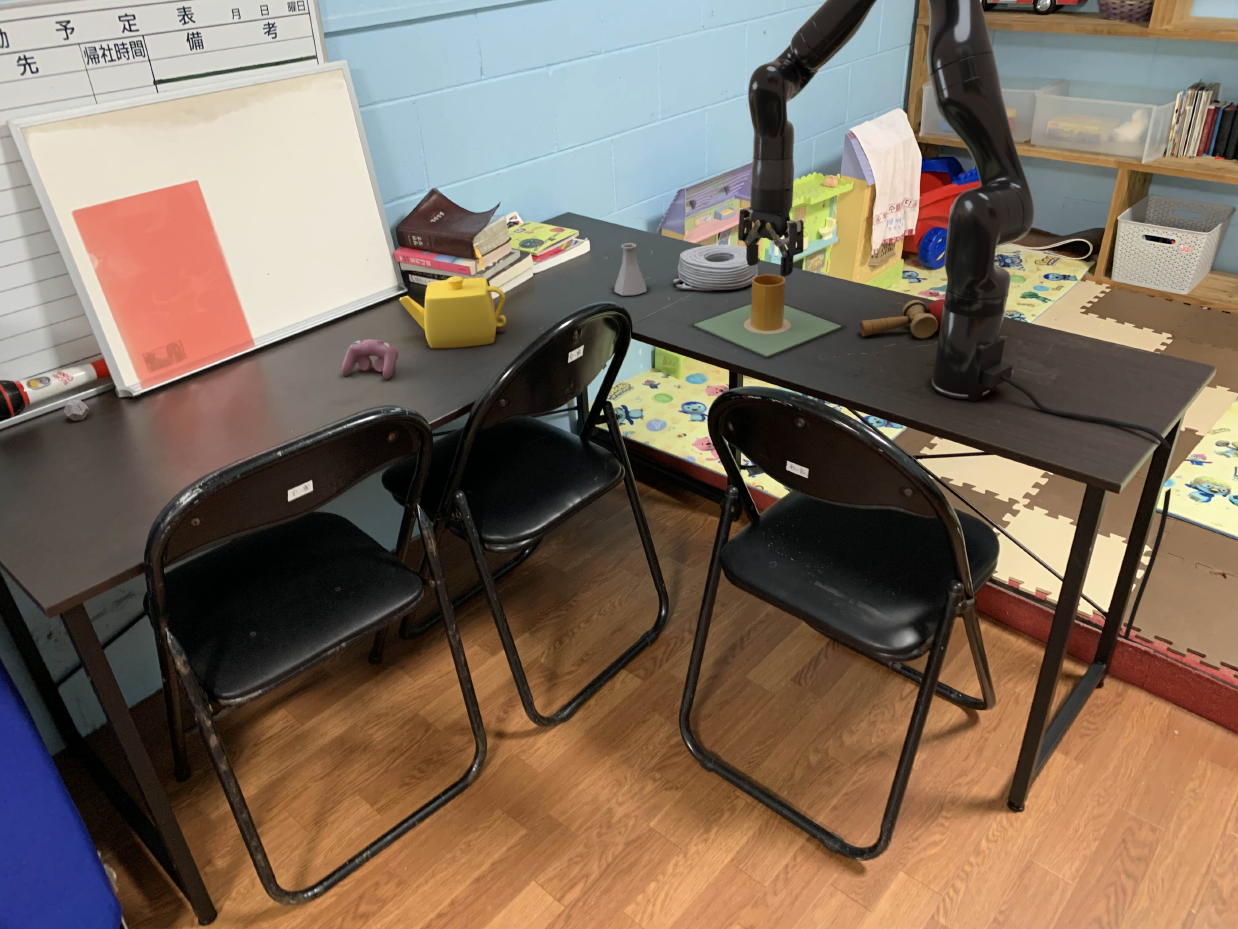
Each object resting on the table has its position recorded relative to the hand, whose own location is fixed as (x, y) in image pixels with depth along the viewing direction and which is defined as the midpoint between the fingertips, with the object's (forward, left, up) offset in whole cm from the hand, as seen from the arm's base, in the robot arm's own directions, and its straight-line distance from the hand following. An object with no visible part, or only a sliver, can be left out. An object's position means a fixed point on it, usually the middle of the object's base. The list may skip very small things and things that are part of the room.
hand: (769, 269), depth 173 cm
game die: (+52, +113, -12) cm, 125 cm away
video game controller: (+34, +67, -12) cm, 76 cm away
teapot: (+38, +47, -12) cm, 61 cm away
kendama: (-20, -17, -12) cm, 29 cm away
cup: (0, 0, -11) cm, 11 cm away
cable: (+26, -11, -12) cm, 31 cm away
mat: (0, 0, -12) cm, 12 cm away
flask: (+34, +7, -12) cm, 37 cm away
